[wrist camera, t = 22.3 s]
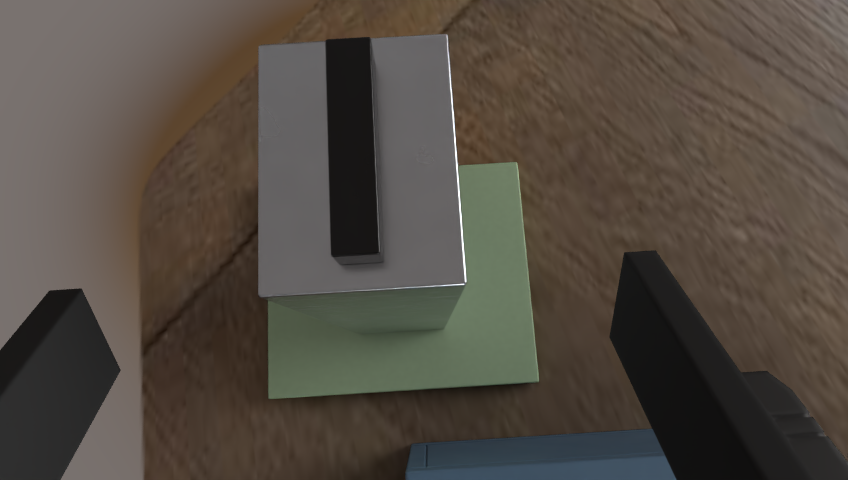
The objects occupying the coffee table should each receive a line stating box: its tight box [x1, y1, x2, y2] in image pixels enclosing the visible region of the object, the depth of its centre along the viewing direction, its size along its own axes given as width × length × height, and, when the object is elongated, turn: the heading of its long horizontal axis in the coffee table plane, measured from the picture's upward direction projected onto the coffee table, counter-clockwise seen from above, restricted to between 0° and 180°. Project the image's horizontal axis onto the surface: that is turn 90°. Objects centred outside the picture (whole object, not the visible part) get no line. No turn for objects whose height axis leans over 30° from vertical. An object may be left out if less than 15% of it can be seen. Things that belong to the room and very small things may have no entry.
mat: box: [268, 162, 539, 399], centre depth 31 cm, size 14×12×1 cm
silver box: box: [258, 34, 467, 335], centre depth 21 cm, size 4×6×19 cm
